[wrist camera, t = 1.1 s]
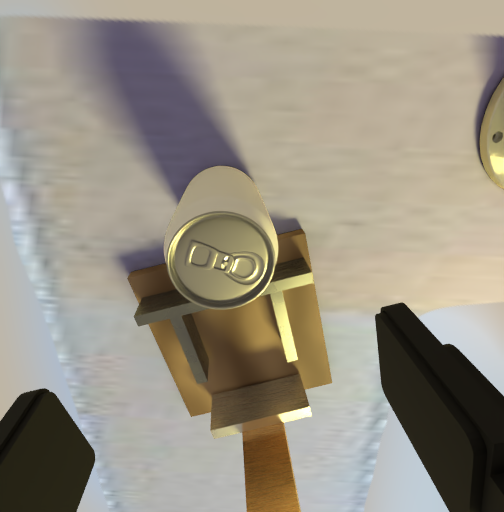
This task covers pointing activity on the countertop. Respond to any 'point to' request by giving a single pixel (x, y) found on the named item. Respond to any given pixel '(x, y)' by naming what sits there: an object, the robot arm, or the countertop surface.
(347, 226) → the countertop surface
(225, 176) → the can
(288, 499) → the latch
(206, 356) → the can holder
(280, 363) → the rail board
